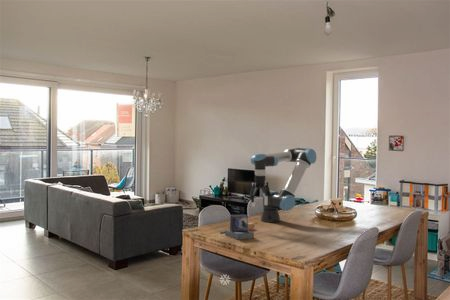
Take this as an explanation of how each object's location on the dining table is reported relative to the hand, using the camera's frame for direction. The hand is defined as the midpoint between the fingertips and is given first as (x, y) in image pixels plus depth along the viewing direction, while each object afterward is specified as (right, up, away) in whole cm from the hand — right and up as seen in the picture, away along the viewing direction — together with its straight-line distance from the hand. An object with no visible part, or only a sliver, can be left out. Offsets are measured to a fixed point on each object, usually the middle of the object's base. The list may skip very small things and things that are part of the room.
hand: (259, 205), depth 279 cm
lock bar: (-10, -16, -7) cm, 20 cm away
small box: (-16, -14, -23) cm, 31 cm away
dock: (-17, -16, -21) cm, 32 cm away
